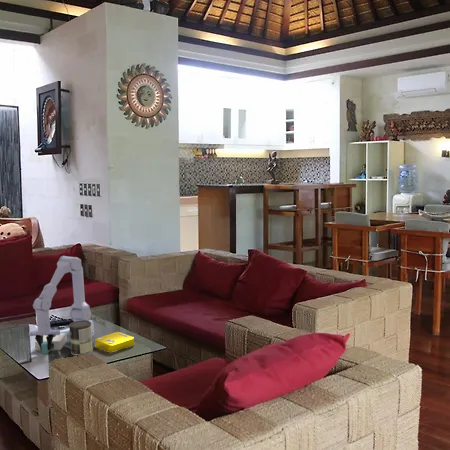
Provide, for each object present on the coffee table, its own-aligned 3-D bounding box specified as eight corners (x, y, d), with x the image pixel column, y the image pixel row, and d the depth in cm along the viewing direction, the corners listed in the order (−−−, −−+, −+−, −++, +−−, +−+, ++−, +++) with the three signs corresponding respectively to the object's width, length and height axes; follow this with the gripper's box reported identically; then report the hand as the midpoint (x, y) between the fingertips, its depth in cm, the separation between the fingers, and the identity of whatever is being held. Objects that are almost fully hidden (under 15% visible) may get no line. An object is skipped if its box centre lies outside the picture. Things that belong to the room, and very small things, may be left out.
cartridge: (50, 343, 282) (50, 334, 281) (56, 343, 282) (55, 334, 281) (41, 353, 268) (41, 344, 267) (47, 353, 268) (46, 344, 267)
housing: (43, 342, 284) (42, 333, 284) (67, 341, 285) (66, 332, 284) (35, 350, 273) (35, 342, 272) (60, 350, 273) (59, 341, 272)
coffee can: (69, 356, 264) (66, 327, 262) (73, 348, 274) (71, 321, 272) (91, 355, 265) (89, 326, 263) (94, 347, 275) (92, 319, 273)
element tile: (136, 345, 276) (135, 336, 275) (110, 354, 265) (109, 345, 264) (118, 339, 286) (117, 330, 285) (93, 347, 276) (92, 338, 275)
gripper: (25, 325, 263) (28, 353, 265) (56, 324, 263) (58, 352, 265) (30, 321, 270) (33, 347, 272) (60, 320, 270) (62, 346, 272)
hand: (45, 349), depth 269 cm, fingers closed on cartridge, 3 cm apart
